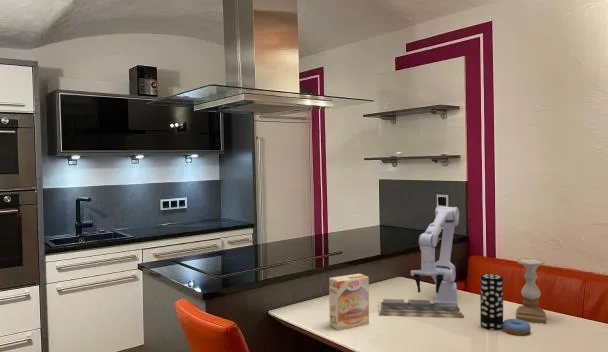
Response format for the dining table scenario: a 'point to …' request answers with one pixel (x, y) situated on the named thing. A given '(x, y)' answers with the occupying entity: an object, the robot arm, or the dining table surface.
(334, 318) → the coffeecake box
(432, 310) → the switch unit
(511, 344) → the dining table surface
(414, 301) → the key middle
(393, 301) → the key
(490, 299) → the spotted tube
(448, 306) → the key
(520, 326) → the doughnut
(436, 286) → the robot arm
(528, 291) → the candle holder
